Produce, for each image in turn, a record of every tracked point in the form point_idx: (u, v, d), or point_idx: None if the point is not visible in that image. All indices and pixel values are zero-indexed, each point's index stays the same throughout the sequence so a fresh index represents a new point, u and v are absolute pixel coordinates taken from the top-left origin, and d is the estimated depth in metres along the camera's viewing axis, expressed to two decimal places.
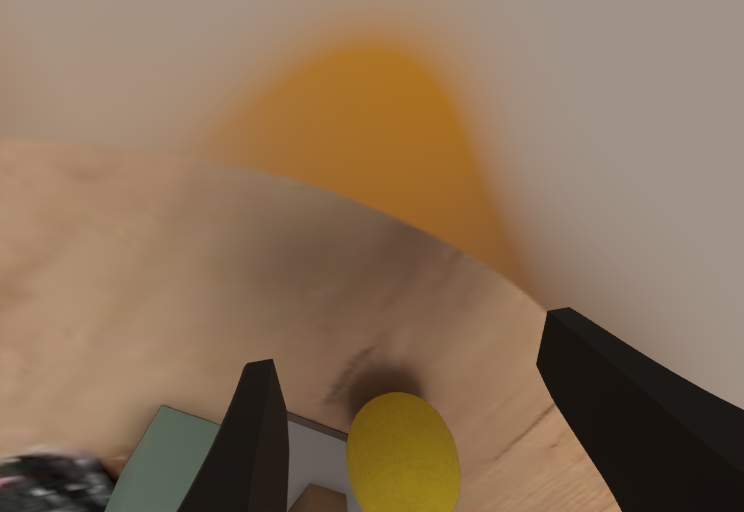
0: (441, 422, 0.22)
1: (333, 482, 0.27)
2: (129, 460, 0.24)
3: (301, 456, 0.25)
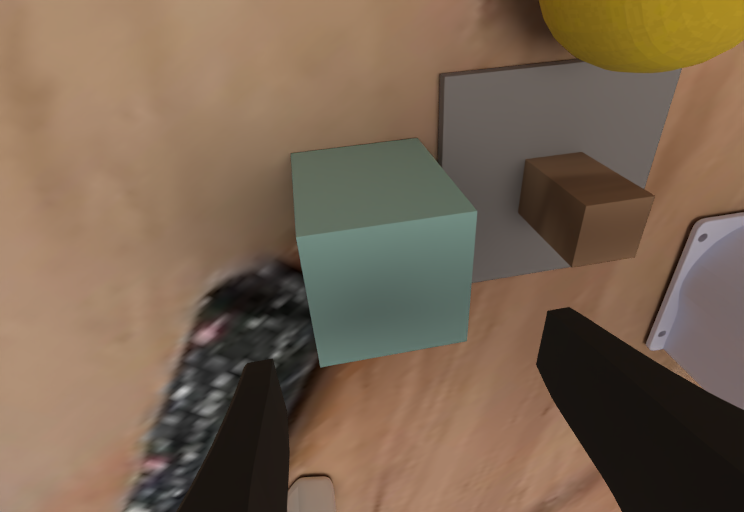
0: None
1: (556, 142, 0.19)
2: None
3: (494, 124, 0.18)
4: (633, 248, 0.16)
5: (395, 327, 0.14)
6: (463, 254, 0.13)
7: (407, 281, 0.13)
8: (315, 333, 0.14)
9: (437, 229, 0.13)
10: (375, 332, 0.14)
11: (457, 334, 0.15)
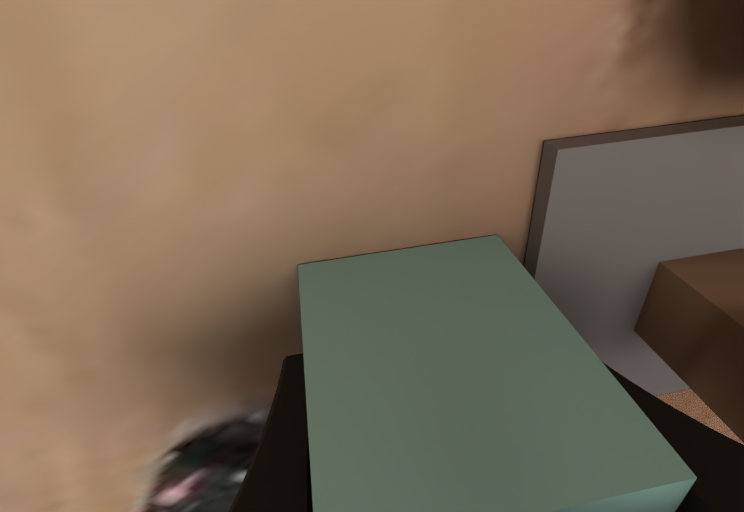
0: None
1: (709, 237, 0.12)
2: None
3: (623, 217, 0.11)
4: None
5: None
6: None
7: None
8: None
9: (609, 510, 0.06)
10: None
11: None
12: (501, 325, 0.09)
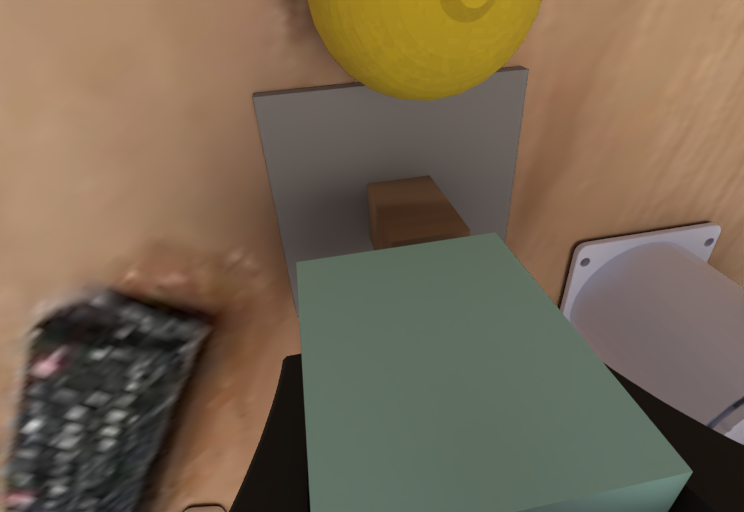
0: None
1: (398, 165, 0.17)
2: None
3: (322, 147, 0.16)
4: None
5: None
6: None
7: None
8: None
9: (607, 505, 0.06)
10: None
11: None
12: (499, 321, 0.09)
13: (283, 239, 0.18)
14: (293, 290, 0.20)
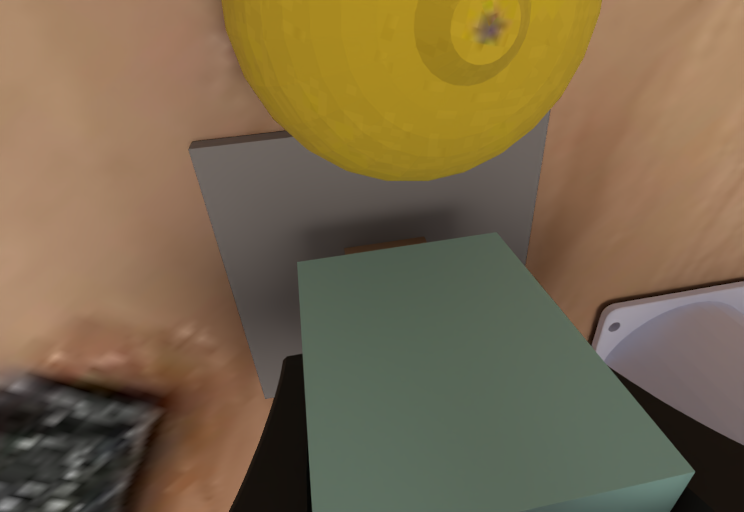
0: None
1: (384, 226, 0.14)
2: None
3: (285, 208, 0.13)
4: None
5: None
6: None
7: None
8: None
9: (608, 505, 0.06)
10: None
11: None
12: (500, 321, 0.09)
13: (241, 315, 0.14)
14: (258, 370, 0.16)
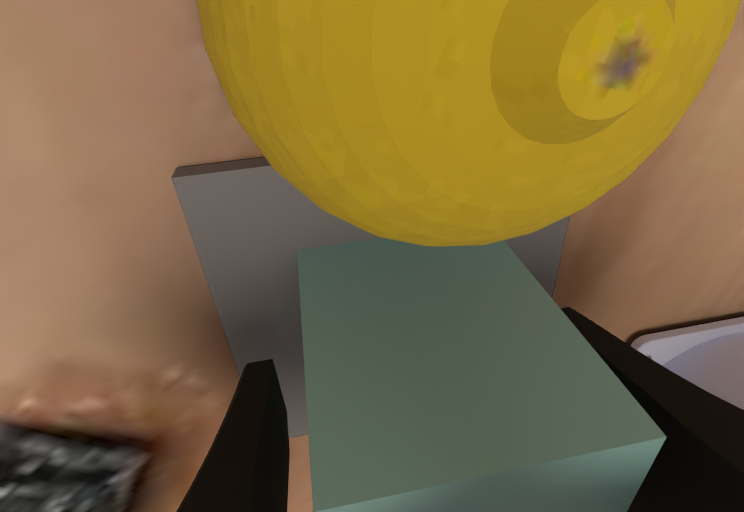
0: None
1: None
2: None
3: (285, 241, 0.11)
4: None
5: None
6: (620, 493, 0.07)
7: None
8: None
9: (586, 468, 0.06)
10: None
11: None
12: (490, 304, 0.09)
13: (236, 357, 0.13)
14: None
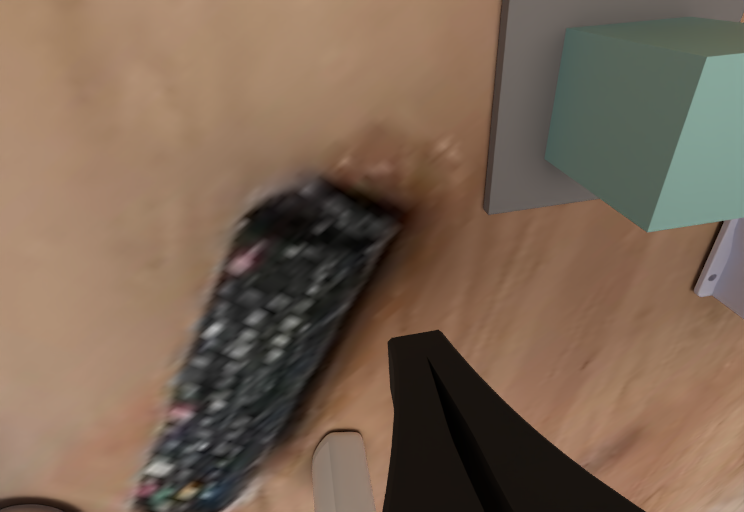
0: None
1: None
2: (554, 131, 0.18)
3: (561, 19, 0.16)
4: None
5: (736, 186, 0.14)
6: None
7: None
8: (663, 187, 0.13)
9: None
10: (716, 191, 0.14)
11: None
12: (729, 28, 0.14)
13: (499, 123, 0.18)
14: (493, 183, 0.20)
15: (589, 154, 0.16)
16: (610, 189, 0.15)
